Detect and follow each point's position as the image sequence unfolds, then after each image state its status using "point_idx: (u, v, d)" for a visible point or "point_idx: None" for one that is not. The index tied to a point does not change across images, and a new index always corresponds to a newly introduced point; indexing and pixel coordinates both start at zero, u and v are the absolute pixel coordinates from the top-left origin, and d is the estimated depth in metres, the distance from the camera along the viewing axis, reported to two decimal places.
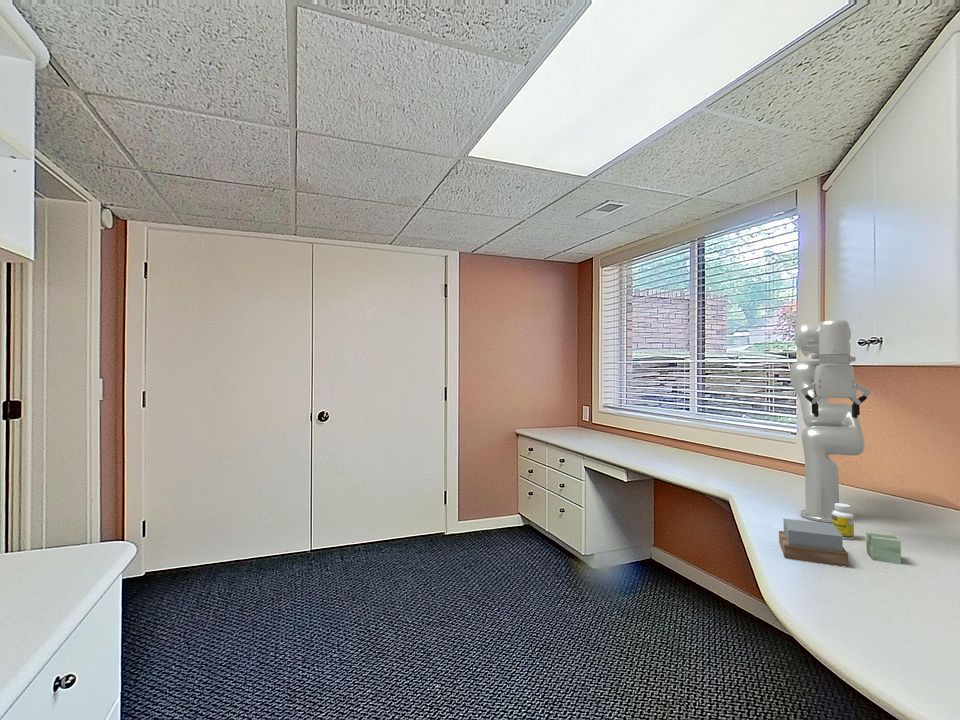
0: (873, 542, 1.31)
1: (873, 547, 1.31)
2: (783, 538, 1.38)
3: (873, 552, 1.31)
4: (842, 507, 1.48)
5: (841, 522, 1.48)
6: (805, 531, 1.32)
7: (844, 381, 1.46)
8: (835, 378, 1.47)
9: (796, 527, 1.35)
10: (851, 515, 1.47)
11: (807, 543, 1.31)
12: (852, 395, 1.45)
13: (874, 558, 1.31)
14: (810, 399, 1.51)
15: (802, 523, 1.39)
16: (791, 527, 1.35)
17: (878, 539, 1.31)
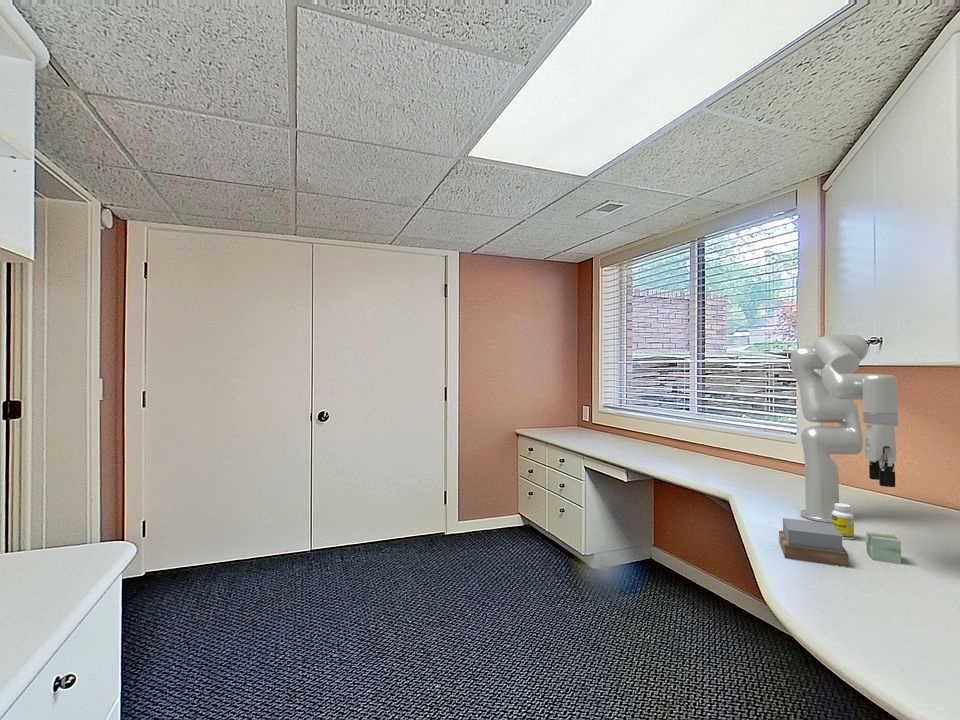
0: (873, 542, 1.31)
1: (873, 547, 1.31)
2: (783, 538, 1.38)
3: (873, 552, 1.31)
4: (842, 507, 1.48)
5: (841, 522, 1.48)
6: (805, 531, 1.32)
7: None
8: None
9: (796, 527, 1.36)
10: (851, 515, 1.47)
11: (807, 542, 1.31)
12: None
13: (874, 558, 1.31)
14: None
15: (801, 523, 1.39)
16: (791, 527, 1.35)
17: (878, 539, 1.31)
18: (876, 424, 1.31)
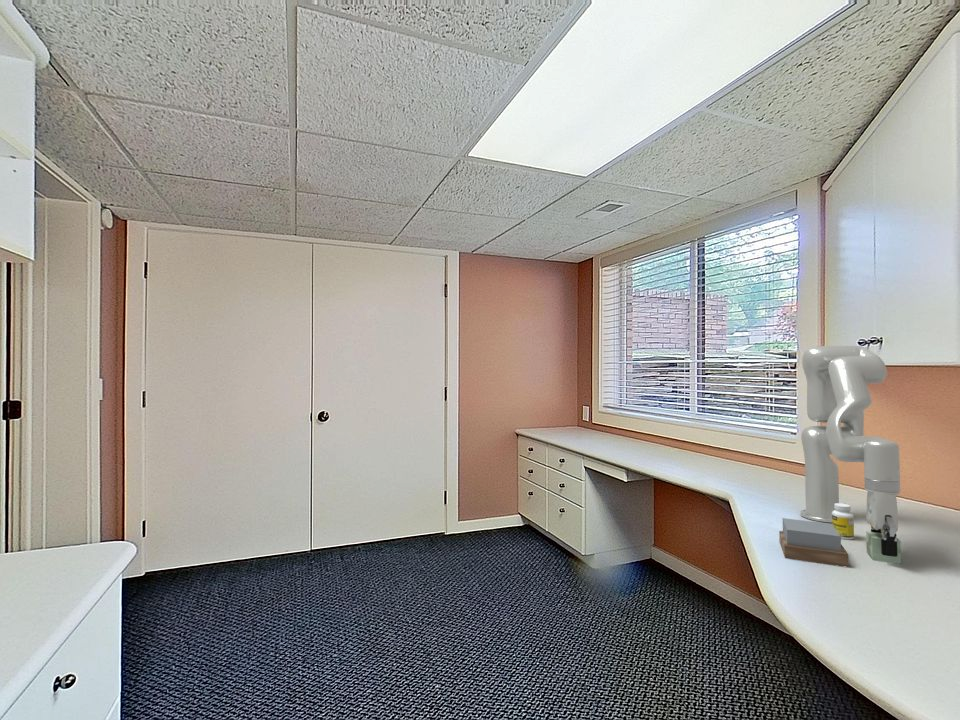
0: (873, 542, 1.31)
1: (873, 547, 1.31)
2: (783, 538, 1.38)
3: (873, 552, 1.31)
4: (842, 507, 1.48)
5: (841, 522, 1.48)
6: (804, 531, 1.32)
7: None
8: None
9: (795, 527, 1.36)
10: (851, 515, 1.47)
11: (805, 542, 1.32)
12: None
13: (874, 558, 1.31)
14: None
15: (801, 523, 1.39)
16: (790, 527, 1.36)
17: (878, 539, 1.31)
18: (878, 491, 1.31)
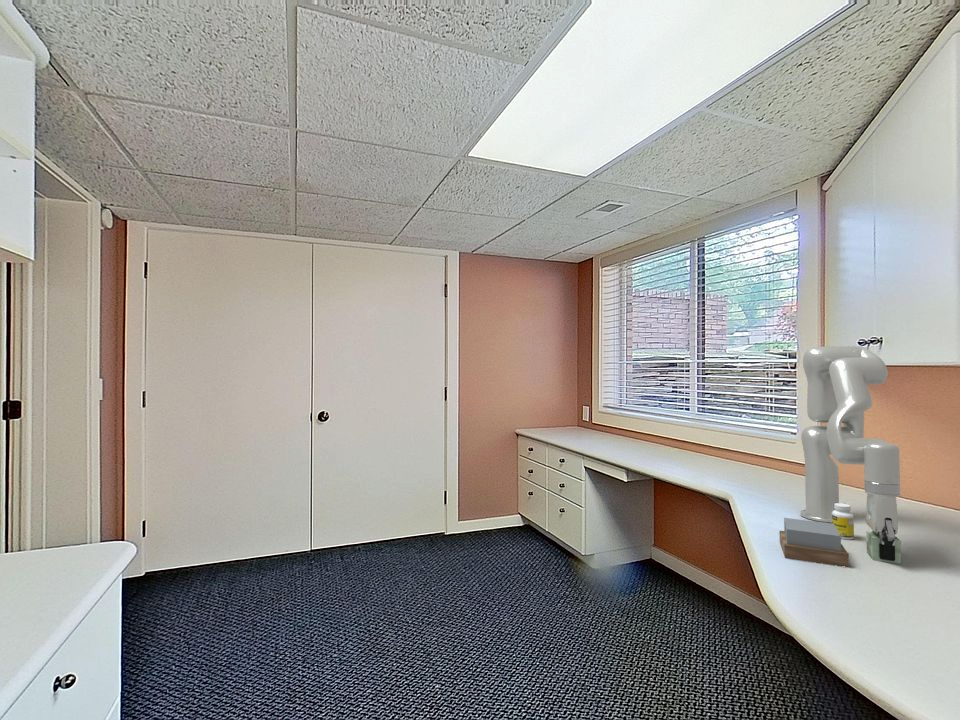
0: (873, 542, 1.31)
1: (873, 547, 1.31)
2: (783, 538, 1.38)
3: (873, 552, 1.31)
4: (842, 507, 1.48)
5: (841, 522, 1.48)
6: (803, 530, 1.32)
7: None
8: None
9: (795, 526, 1.36)
10: (851, 515, 1.47)
11: (805, 542, 1.32)
12: None
13: (874, 558, 1.31)
14: None
15: (802, 522, 1.39)
16: (790, 526, 1.36)
17: (878, 539, 1.31)
18: (878, 494, 1.31)
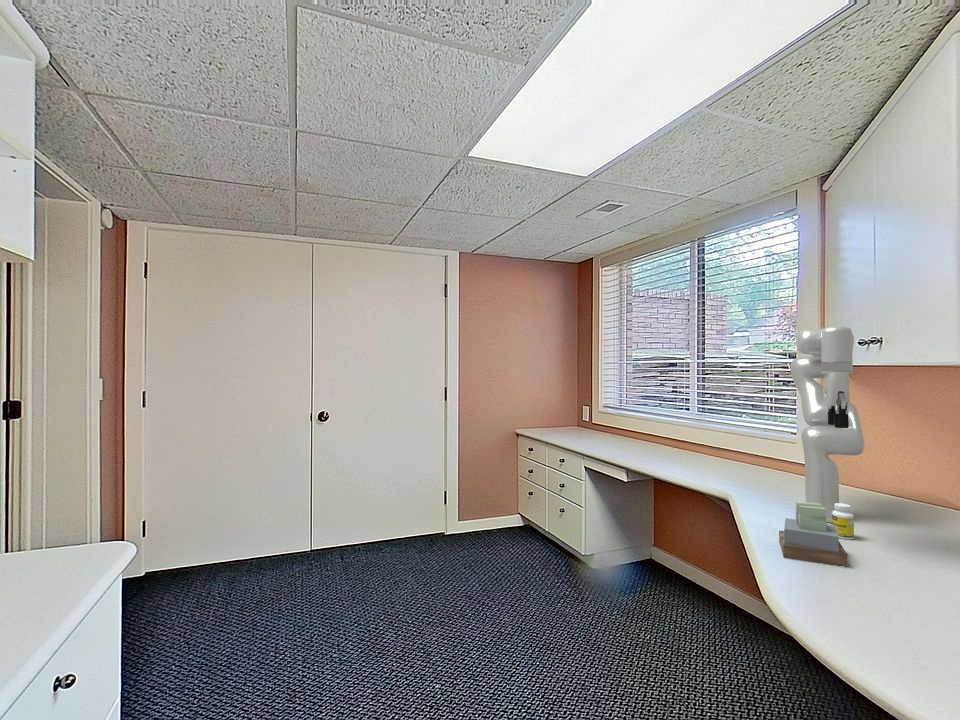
0: (801, 511, 1.34)
1: (801, 516, 1.34)
2: (783, 538, 1.38)
3: (800, 521, 1.34)
4: (842, 507, 1.48)
5: (841, 522, 1.48)
6: (801, 530, 1.32)
7: None
8: None
9: (794, 526, 1.36)
10: (851, 515, 1.47)
11: (803, 542, 1.32)
12: None
13: (801, 526, 1.34)
14: None
15: None
16: (789, 526, 1.36)
17: (805, 508, 1.34)
18: (832, 372, 1.43)
